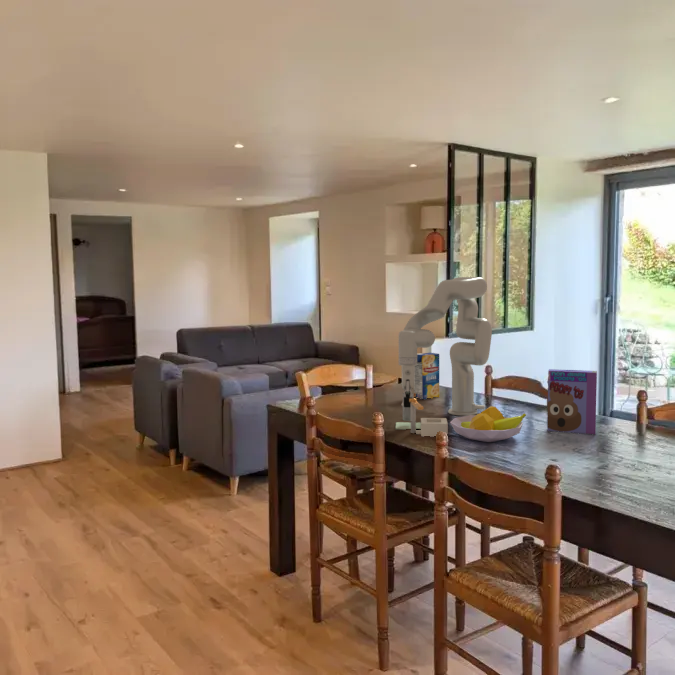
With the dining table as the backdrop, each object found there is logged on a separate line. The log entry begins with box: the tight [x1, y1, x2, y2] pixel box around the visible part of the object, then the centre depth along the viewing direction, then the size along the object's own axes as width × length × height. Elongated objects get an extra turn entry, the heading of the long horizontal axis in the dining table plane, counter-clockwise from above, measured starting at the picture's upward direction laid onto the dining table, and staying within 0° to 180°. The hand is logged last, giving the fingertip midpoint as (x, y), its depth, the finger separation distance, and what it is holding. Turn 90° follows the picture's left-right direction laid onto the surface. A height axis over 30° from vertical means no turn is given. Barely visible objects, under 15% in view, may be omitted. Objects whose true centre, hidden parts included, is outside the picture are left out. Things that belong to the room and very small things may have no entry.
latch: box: [409, 397, 424, 411], centre depth 247 cm, size 14×3×2 cm, turn 6°
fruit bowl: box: [449, 405, 527, 443], centre depth 244 cm, size 28×27×11 cm
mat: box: [395, 421, 421, 430], centre depth 265 cm, size 10×10×1 cm
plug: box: [401, 392, 414, 422], centre depth 264 cm, size 5×5×11 cm
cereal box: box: [546, 368, 598, 436], centre depth 251 cm, size 17×5×24 cm, turn 68°
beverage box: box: [413, 352, 440, 400], centre depth 326 cm, size 7×11×22 cm, turn 122°
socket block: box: [410, 404, 449, 438], centre depth 252 cm, size 14×10×12 cm
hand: (407, 405), depth 264 cm, fingers closed on plug, 5 cm apart
